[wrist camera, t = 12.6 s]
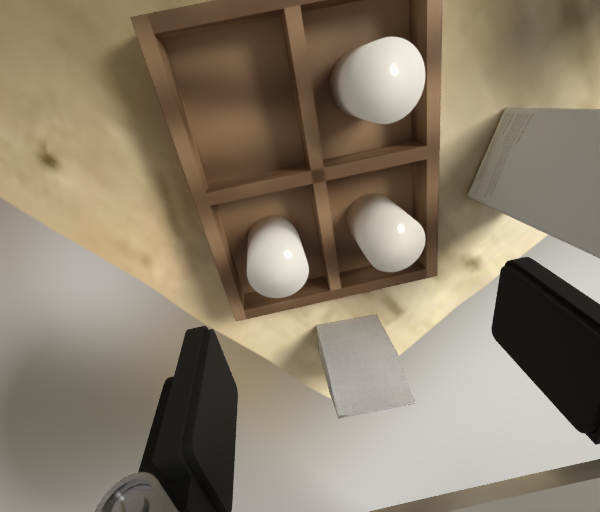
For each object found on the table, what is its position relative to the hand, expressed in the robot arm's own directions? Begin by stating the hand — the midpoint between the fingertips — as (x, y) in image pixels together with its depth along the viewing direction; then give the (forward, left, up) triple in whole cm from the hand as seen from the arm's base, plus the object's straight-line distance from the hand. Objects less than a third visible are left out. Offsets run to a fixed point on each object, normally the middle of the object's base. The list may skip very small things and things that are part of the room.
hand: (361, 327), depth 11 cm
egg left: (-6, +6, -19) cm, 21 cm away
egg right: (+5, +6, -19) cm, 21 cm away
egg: (+5, -3, -19) cm, 20 cm away
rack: (-1, +2, -20) cm, 20 cm away
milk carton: (+18, +3, -20) cm, 27 cm away
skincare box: (+2, +20, -20) cm, 28 cm away
